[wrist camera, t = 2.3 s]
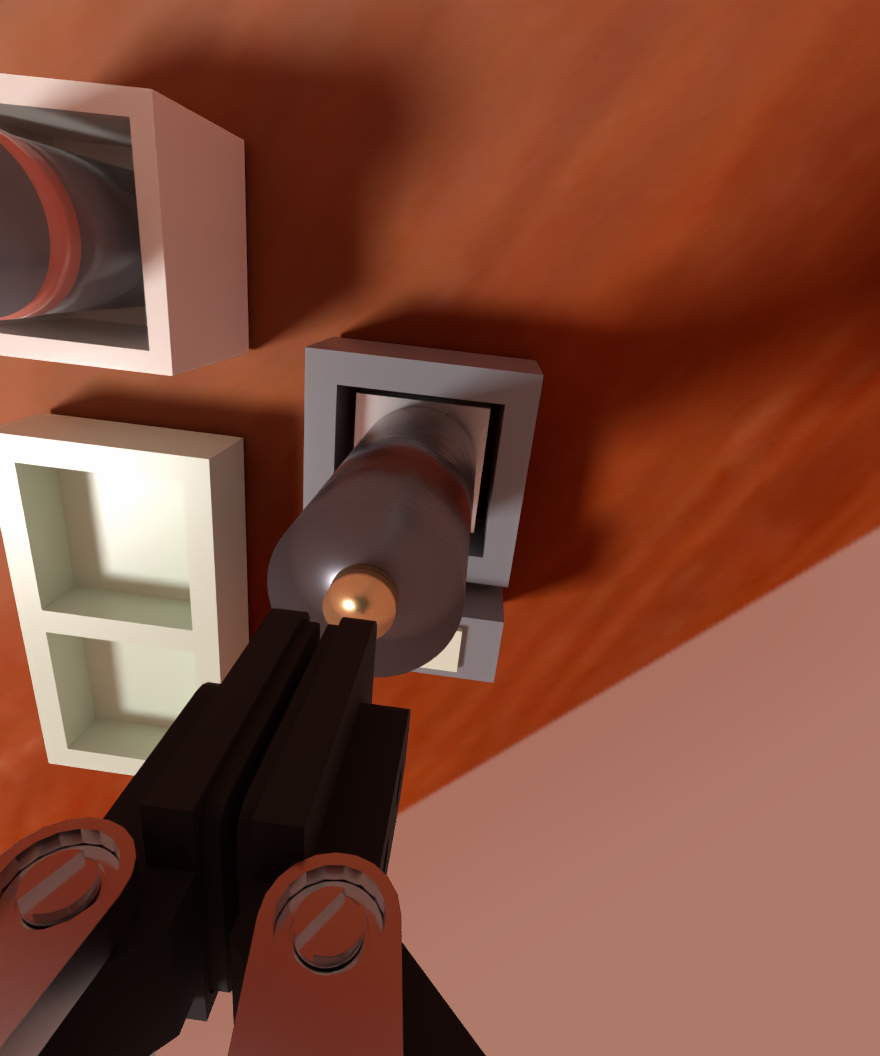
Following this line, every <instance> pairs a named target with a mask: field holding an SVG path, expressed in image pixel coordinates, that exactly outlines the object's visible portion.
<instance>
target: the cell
mask: <svg viewBox="0 0 880 1056" xmlns="http://www.w3.org/2000/svg"><path fill="white" fill-rule="evenodd" d="M475 477H476V456H475V452H474V448H473V446H472V443H471V441H470V439H469V437H468V435H467V434H466V433H465V431H464V430H463V429H462V428H461V426H460V425H459V424H458V423H457V422H455V421H454V420H453V419H452V418H450V417H449V416H447V415H445V414H443V413H441V412H439V411H437V410H433V409H430V408H425V407H406V408H401V409H398V410H395V411H392V412H390V413H388V414H386V415H385V416H383V417H382V418H380V419H379V420H378V421H377V422H376V423H375V424H374V425H373V426H372V427H371V428H370V429H369V431H368V432H367V433H366V434H365V436H364V437H363V438H362V439H361V440H360V442H359V443H358V444H357V445H356V447H355V448H354V449H353V450H352V451H351V453H350V454H349V455H348V456H347V457H346V459H345V460H344V461H343V462H342V464H341V465H340V466H339V467H338V468H337V470H336V471H335V472H334V473H333V475H332V476H331V477H330V478H329V479H328V481H327V482H326V483H325V484H324V486H323V487H322V488H321V489H320V490H319V492H318V493H317V494H316V495H315V497H314V498H313V499H312V500H311V501H310V503H309V504H308V505H307V506H306V507H305V509H304V510H303V511H302V512H301V514H300V515H299V516H298V517H297V518H296V520H295V521H294V522H293V523H292V525H291V526H290V527H289V528H288V529H287V531H286V532H285V533H284V534H283V536H282V537H281V538H280V540H279V541H278V543H277V545H276V547H275V548H274V551H273V553H272V556H271V559H270V563H269V567H268V575H267V588H268V596H269V600H270V604H271V607H272V609H273V608H280V609H288V610H295V611H303V612H308V614H309V617H310V621H311V622H318V623H319V624H320V639H321V637H322V635H323V633H324V631H325V629H326V627H327V625H328V624H333V625H339V623H340V620H341V619H342V617H349V618H357V619H364V620H372V621H376V622H377V637H376V650H375V664H374V677H389V676H396V675H400V674H403V673H407V672H410V671H412V670H415V669H417V668H419V667H421V666H423V665H425V664H427V663H428V662H430V661H431V660H432V659H434V658H435V657H436V656H438V655H439V654H440V653H441V652H442V651H443V650H444V649H445V648H446V646H447V645H448V644H449V643H450V641H451V640H452V638H453V637H454V635H455V633H456V631H457V629H458V627H459V624H460V621H461V618H462V614H463V609H464V599H465V588H466V577H467V566H468V555H469V544H470V533H471V522H472V511H473V500H474V488H475Z"/></svg>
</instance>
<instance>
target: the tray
mask: <svg viewBox="0 0 880 1056" xmlns="http://www.w3.org/2000/svg"><path fill="white" fill-rule="evenodd" d="M0 527H1V531H2V536H3V541H4V546H5V551H6V556H7V561H8V566H9V571H10V576H11V580H12V585H13V590H14V595H15V600H16V605H17V610H18V615H19V620H20V625H21V629H22V634H23V639H24V644H25V649H26V654H27V659H28V664H29V669H30V673H31V678H32V683H33V688H34V693H35V698H36V703H37V708H38V713H39V718H40V722H41V727H42V732H43V737H44V742H45V747H46V752H47V757H48V762H49V763H51V764H58V765H65V766H72V767H79V768H86V769H92V770H99V771H106V772H113V773H120V774H127V775H134V776H135V774H136V773H137V772H138V770H139V769H140V767H141V766H142V765H143V763H144V762H145V761H146V759H147V758H148V756H149V755H150V754H151V752H152V751H153V750H154V748H155V747H156V745H157V744H158V743H159V741H160V740H161V739H162V737H163V736H164V734H165V733H166V732H167V730H168V729H169V728H170V726H171V725H172V723H173V722H174V721H175V719H176V718H177V717H178V715H179V714H180V713H181V711H182V710H183V708H184V707H185V706H186V704H187V703H188V702H189V700H190V699H191V697H192V696H193V695H194V693H195V692H196V691H197V689H198V688H199V687H200V686H201V685H202V684H204V683H207V682H212V683H219V684H221V683H222V681H223V680H224V678H225V677H226V675H227V674H228V673H229V671H230V670H231V668H232V667H233V665H234V664H235V662H236V661H237V659H238V658H239V656H240V655H241V653H242V652H243V650H244V649H245V647H246V646H247V645H248V643H249V625H248V589H247V553H246V517H245V481H244V446H243V437H235V436H227V435H219V434H210V433H202V432H194V431H186V430H178V429H170V428H162V427H154V426H146V425H137V424H129V423H121V422H113V421H105V420H97V419H89V418H81V417H73V416H65V415H56V414H48V413H39V414H36V415H32V416H29V417H26V418H22V419H19V420H16V421H12V422H9V423H6V424H2V425H0Z"/></svg>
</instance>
